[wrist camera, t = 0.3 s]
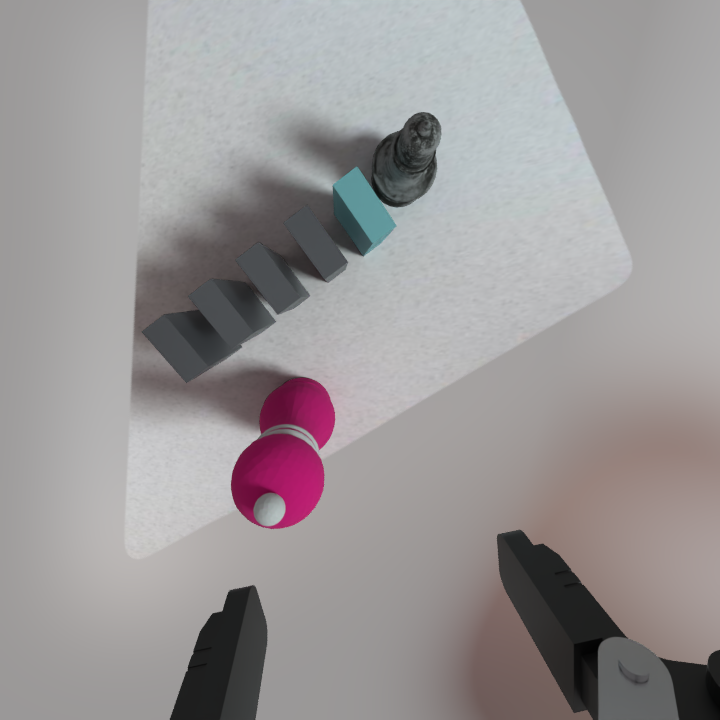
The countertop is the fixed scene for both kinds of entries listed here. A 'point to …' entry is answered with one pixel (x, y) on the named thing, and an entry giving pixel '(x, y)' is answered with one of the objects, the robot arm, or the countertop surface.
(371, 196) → the domino
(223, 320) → the domino
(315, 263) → the domino
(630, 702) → the robot arm
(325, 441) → the pepper mill
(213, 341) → the domino
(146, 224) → the countertop surface
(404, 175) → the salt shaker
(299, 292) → the domino
